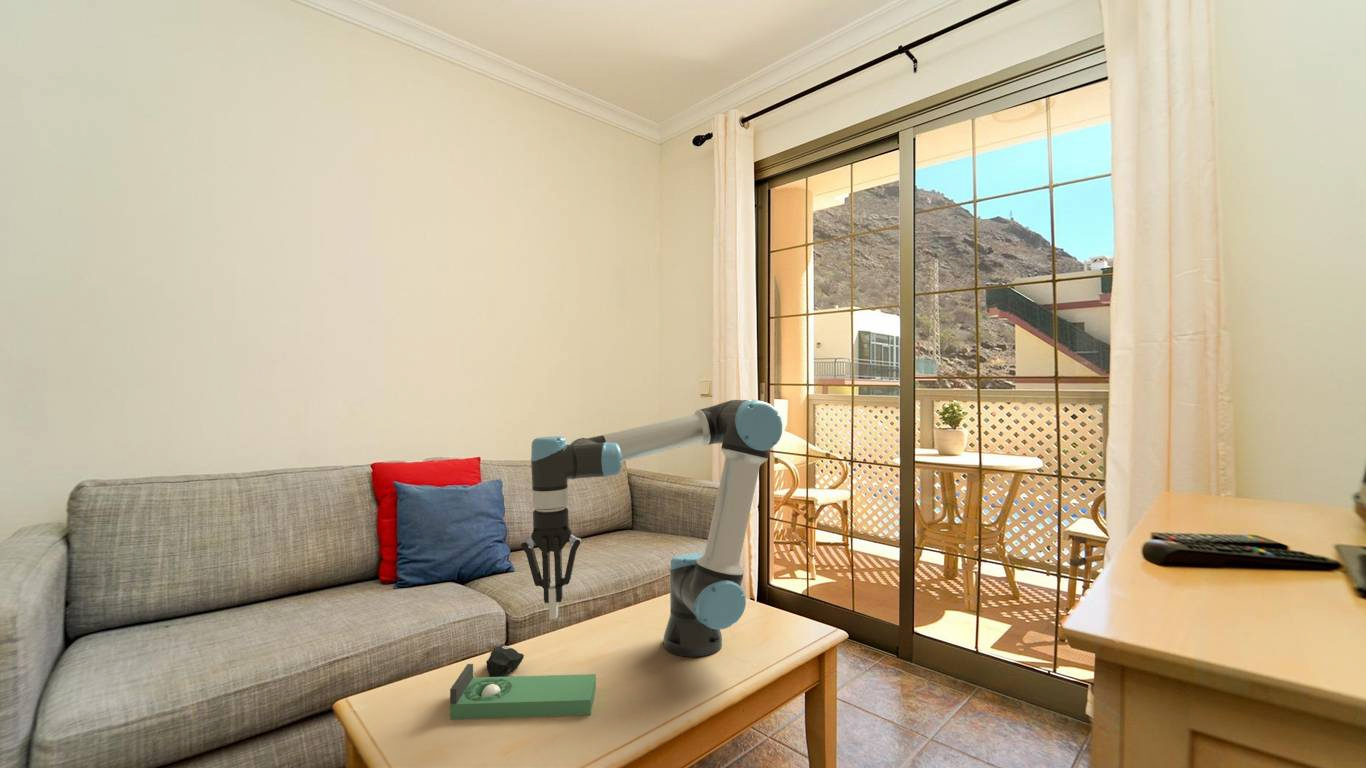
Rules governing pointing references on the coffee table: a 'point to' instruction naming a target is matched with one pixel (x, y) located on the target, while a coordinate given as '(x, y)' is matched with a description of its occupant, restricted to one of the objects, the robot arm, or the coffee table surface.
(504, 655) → the mineral
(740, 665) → the coffee table surface
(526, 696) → the green
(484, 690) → the ball
